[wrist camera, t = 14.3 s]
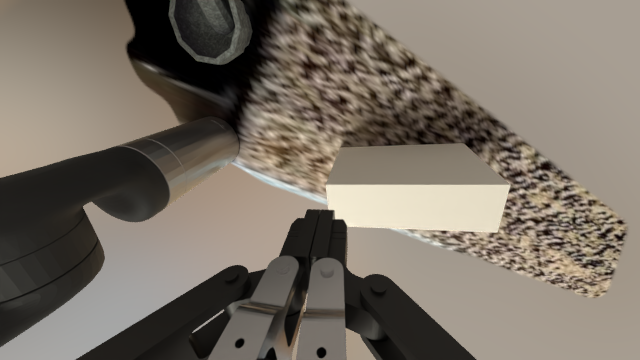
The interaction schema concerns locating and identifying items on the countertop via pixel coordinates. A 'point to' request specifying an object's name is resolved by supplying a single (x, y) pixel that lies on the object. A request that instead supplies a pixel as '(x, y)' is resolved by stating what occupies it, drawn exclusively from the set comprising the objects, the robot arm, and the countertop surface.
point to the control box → (416, 188)
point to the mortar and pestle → (211, 28)
